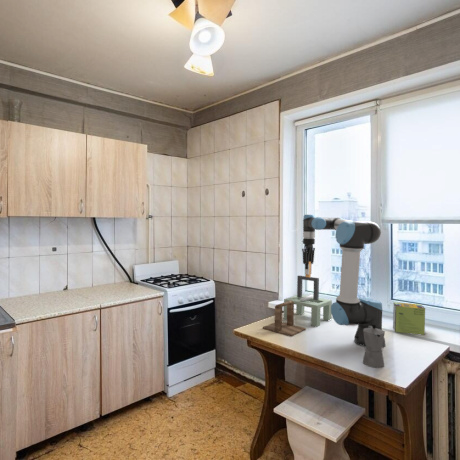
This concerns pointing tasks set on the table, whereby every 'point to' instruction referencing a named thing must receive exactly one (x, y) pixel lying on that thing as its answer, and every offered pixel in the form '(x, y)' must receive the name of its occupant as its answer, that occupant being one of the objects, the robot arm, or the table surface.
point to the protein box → (409, 318)
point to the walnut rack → (282, 327)
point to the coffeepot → (373, 346)
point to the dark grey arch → (308, 277)
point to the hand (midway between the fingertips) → (308, 273)
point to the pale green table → (315, 307)
